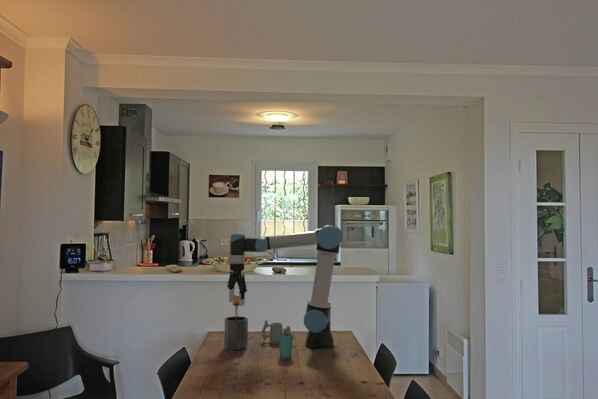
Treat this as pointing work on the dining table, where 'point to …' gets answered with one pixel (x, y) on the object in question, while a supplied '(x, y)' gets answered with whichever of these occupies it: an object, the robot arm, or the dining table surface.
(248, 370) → the dining table surface
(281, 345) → the cup
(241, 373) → the dining table surface
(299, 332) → the dining table surface
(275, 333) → the mug
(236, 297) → the plunger
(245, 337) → the press body
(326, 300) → the robot arm
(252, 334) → the dining table surface
